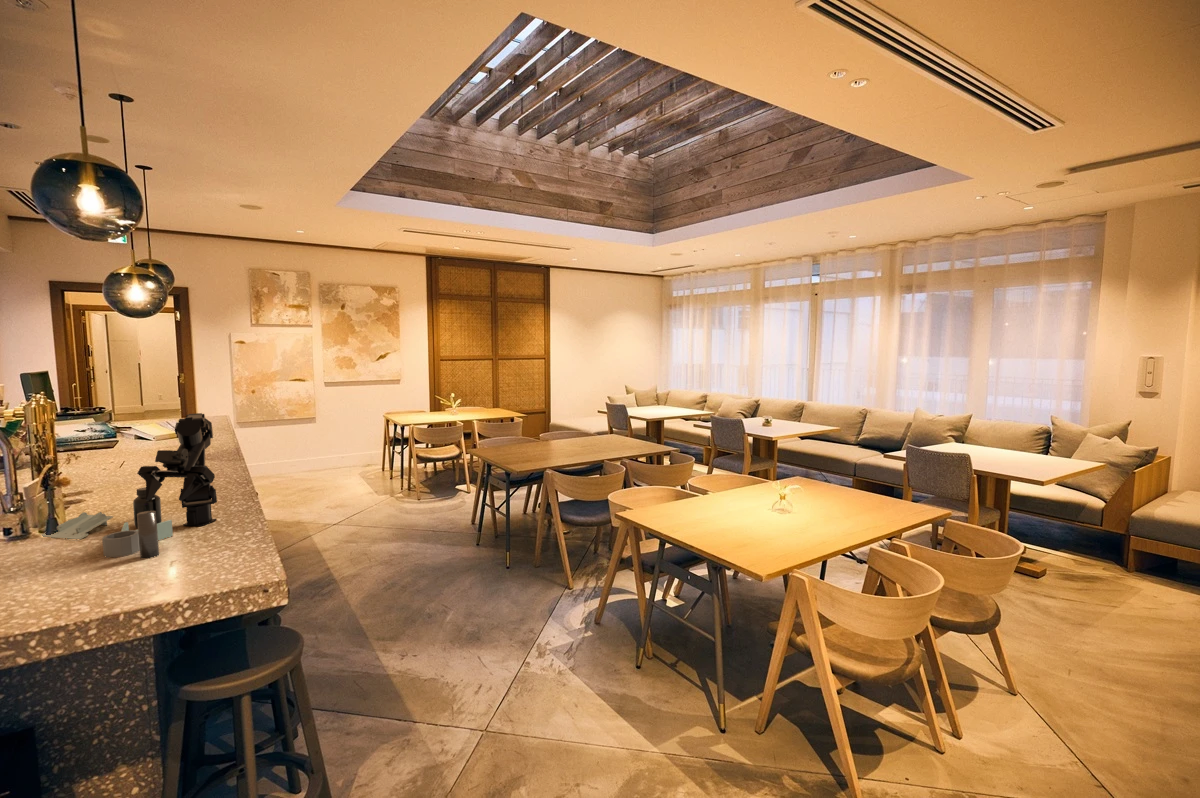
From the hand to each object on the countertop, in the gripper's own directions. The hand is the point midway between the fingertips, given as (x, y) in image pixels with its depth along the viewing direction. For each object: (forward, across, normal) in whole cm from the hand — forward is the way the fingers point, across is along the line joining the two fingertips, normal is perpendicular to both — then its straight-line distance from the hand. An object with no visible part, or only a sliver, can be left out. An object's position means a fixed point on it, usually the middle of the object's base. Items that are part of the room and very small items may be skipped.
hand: (163, 500), depth 160 cm
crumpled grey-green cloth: (0, -36, +20) cm, 41 cm away
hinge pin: (+15, +1, +4) cm, 15 cm away
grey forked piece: (+9, -11, +10) cm, 17 cm away
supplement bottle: (-4, -20, +24) cm, 32 cm away
